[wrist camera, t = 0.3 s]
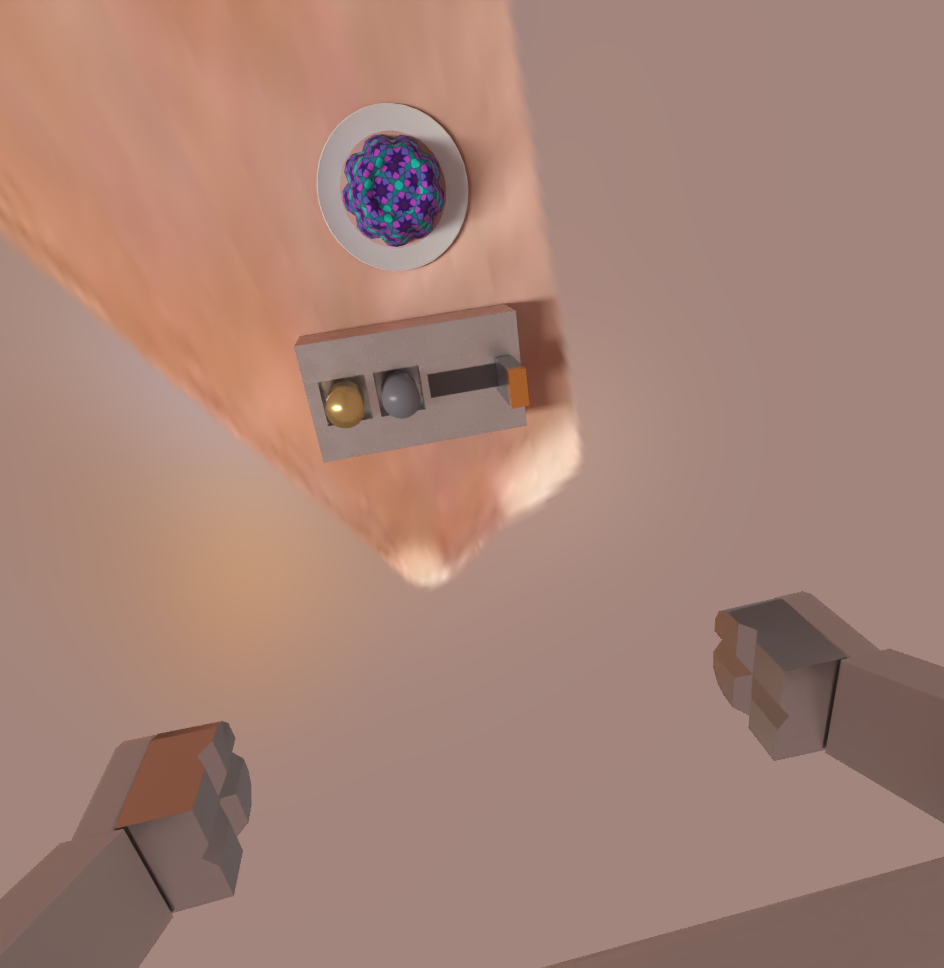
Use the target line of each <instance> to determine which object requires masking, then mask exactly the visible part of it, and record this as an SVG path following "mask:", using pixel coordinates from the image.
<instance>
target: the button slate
mask: <svg viewBox="0 0 944 968" xmlns="http://www.w3.org/2000/svg"><path fill="white" fill-rule="evenodd" d="M381 391H382V400H383V406H384V408H385V410H386V411H387V412H388V413H389V414H390V415H391V416H393V417H395V418H400V419H403V418H408V417H410V416H412V415H414V414H415V413H416V412H417V410H418V409H419V406H420V402H421V398H420V394H419V391H418V388H417V385H416V382H415V380H414V379H413V378H412V377H411V376H410V375H409V374H407V373H404V372H394V373H391V374H389V375H388V376H387V377H386V378H385V379H384V381H383V383H382V387H381Z"/></svg>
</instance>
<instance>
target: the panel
mask: <svg viewBox="0 0 944 968" xmlns="http://www.w3.org/2000/svg"><path fill="white" fill-rule="evenodd" d="M294 348H295V352H296V356H297V360H298V364H299V367H300V371H301V375H302V379H303V383H304V387H305V391H306V395H307V399H308V403H309V407H310V410H311V414H312V418H313V422H314V426H315V430H316V434H317V438H318V442H319V446H320V450H321V454H322V457H323V461H324V462H329V461H334V460H340V459H345V458H351V457H356V456H362V455H367V454H373V453H378V452H384V451H389V450H395V449H400V448H406V447H411V446H417V445H422V444H428V443H433V442H439V441H444V440H450V439H455V438H461V437H466V436H472V435H477V434H483V433H488V432H494V431H499V430H505V429H510V428H516V427H521V426H527V423H526V412H525V407H519V408H514V409H512V408H511V407H510V406H509V404H508V403H507V402H506V401H505V399H504V398H503V397H502V396H501V394H500V393H499V389H498V381H497V372H496V363H495V358H496V357H502V356H508V355H512V356H513V357H514V358H515V359H516V360H517V361H519V362H520V363H521V360H520V349H519V339H518V328H517V318H516V310H514V309H512V308H510V307H509V306H507V305H505V304H500V305H493V306H487V307H481V308H475V309H468V310H462V311H456V312H450V313H444V314H437V315H431V316H425V317H419V318H412V319H406V320H400V321H394V322H387V323H381V324H375V325H369V326H362V327H356V328H350V329H344V330H337V331H331V332H325V333H319V334H312V335H306V336H300V337H299V339H298V340H297V342H296V344H295V346H294ZM394 372H404V373H407V374H409V375H410V376H411V377H412V378H413V379H414V380H415V382H416V385H417V388H418V391H419V394H420V398H421V402H420V406H419V409H418V410H417V412H416V413H415V414H414V415H412V416H410V417H408V418H403V419H400V418H395V417H393V416H391V415H390V414H389V413H388V412H387V411H386V410H385V408H384V406H383V400H382V391H381V387H382V383H383V381H384V379H385V378H386V377H387V376H388V375H389V374H391V373H394ZM340 381H351V382H353V383H355V384H357V385H358V386H359V387H360V388H361V389H362V391H363V394H364V416H363V419H362V420H361V422H360V423H359V424H358V425H356V426H354V427H352V428H339V427H337V426H335V425H333V424H332V423H331V422H330V421H329V419H328V418H327V415H326V411H325V408H326V402H327V397H328V393H329V390H330V389H331V387H332V386H333V385H334V384H336V383H337V382H340Z"/></svg>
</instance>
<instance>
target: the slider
mask: <svg viewBox="0 0 944 968" xmlns="http://www.w3.org/2000/svg"><path fill="white" fill-rule="evenodd" d="M495 363H496V372H497V381H498V389H499V393H500V394H501V396H502V397H503V398H504V399H505V401H506V402H507V403H508V404H509V406H510V407H511V408H512V409H514V408H519V407H525V406H529V395H528V384H527V373H526V368H525V367H524V366H523V365H522V364H521V363H520V362H519V361H517V360H516V359H515V358H514V357H513V356H512V355H508V356H502V357H496V358H495Z"/></svg>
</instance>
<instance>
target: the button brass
mask: <svg viewBox="0 0 944 968" xmlns="http://www.w3.org/2000/svg"><path fill="white" fill-rule="evenodd" d="M325 411H326V415H327V418H328V419H329V421H330V422H331V423H332V424H333V425H335V426H337V427H339V428H352V427H354V426H356V425H358V424H359V423H360V422H361V420H362V419H363V416H364V394H363V391H362V389H361V388H360V387H359V386H358V385H357V384H355V383H353V382H351V381H340V382H337V383H336V384H334V385H333V386H332V387H331V389H330V390H329V393H328V397H327V402H326V408H325Z"/></svg>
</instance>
